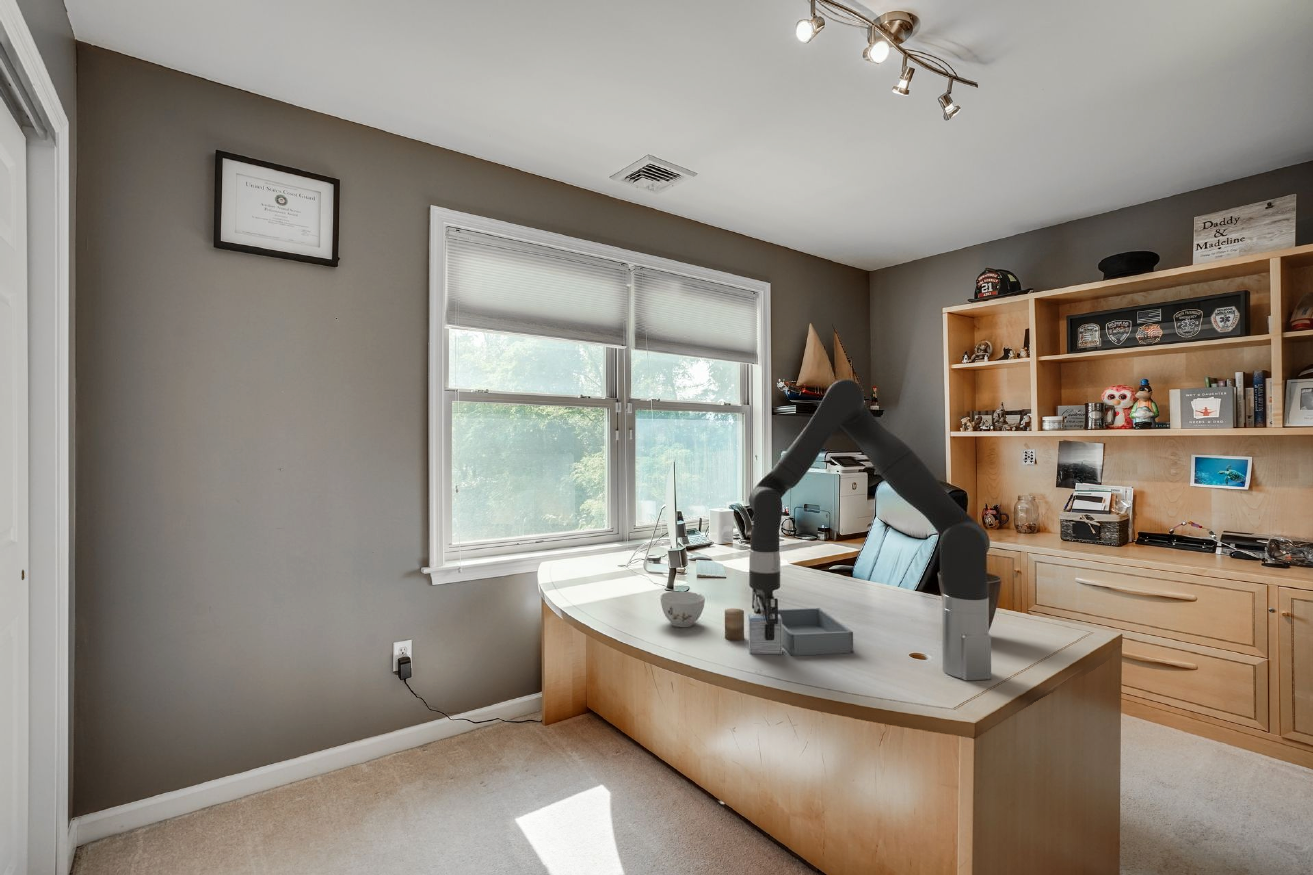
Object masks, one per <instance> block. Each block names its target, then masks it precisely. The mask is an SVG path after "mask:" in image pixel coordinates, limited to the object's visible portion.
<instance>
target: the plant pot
mask: <svg viewBox="0 0 1313 875" xmlns="http://www.w3.org/2000/svg"><path fill="white" fill-rule="evenodd" d="M937 578H938V579H937V580H938V586H939V591H940V595H941V597H942V583H941V578H940V571H938V572H937ZM987 582H988V587H989V631H990V630H991V627H992V624H993V621H994V618H995V616H996V615H995V614H996V611H997V608H998V602H999V598H1000V592H1001V584H1002V578H1001V576H999V575H996V574H993V573H989V572H987Z"/></svg>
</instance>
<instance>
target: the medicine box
mask: <svg viewBox="0 0 1313 875" xmlns="http://www.w3.org/2000/svg"><path fill="white" fill-rule="evenodd" d="M770 619H772V617H771V616H770ZM748 651H749V654H756V655H757V654H758V655H759V654H763V655H764V654H765V655H766V654H767V655H783V647H782V619H781V616H780V614H778V624H775V625H774V640H768V641H767V640H766V639H765V623H764V617H763V616H762V615H761V614H756V613H748Z"/></svg>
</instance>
